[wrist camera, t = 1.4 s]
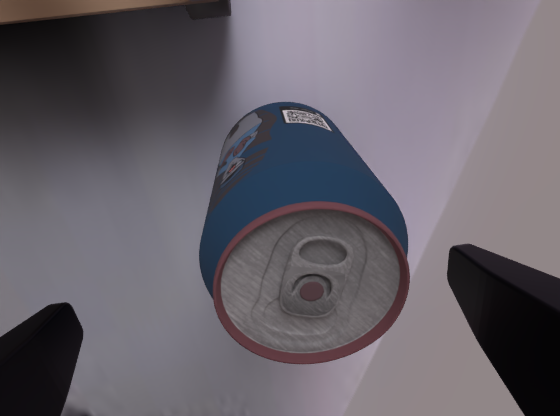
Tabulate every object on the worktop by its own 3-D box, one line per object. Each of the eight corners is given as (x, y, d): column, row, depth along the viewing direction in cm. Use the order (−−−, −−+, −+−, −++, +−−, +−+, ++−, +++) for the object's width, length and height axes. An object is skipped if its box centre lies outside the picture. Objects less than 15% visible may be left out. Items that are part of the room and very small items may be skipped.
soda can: (324, 220, 23) (384, 387, 13) (213, 202, 22) (178, 367, 12) (357, 111, 21) (472, 209, 10) (232, 84, 19) (208, 161, 9)
